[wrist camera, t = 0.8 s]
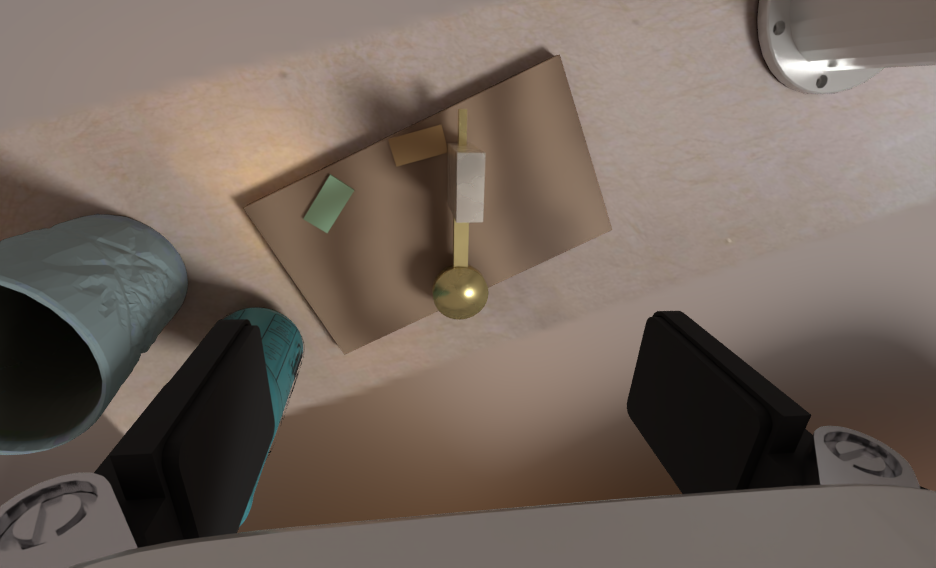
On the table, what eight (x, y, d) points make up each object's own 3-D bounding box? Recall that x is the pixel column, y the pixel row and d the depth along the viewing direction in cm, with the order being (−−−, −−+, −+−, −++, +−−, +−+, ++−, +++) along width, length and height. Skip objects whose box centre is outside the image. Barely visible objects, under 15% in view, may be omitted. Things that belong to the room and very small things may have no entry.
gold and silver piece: (482, 307, 34) (496, 340, 30) (431, 309, 34) (437, 344, 29) (490, 108, 29) (508, 111, 24) (428, 107, 28) (435, 110, 23)
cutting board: (554, 55, 29) (564, 53, 27) (606, 226, 35) (618, 233, 33) (247, 204, 30) (238, 212, 28) (345, 347, 35) (343, 361, 34)
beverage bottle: (209, 300, 32) (-31, 566, 14) (302, 290, 33) (187, 531, 15) (233, 373, 35) (56, 677, 17) (319, 363, 36) (238, 642, 18)
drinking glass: (2, 230, 28) (-242, 315, 18) (150, 179, 29) (-2, 232, 18) (103, 353, 33) (-43, 484, 22) (232, 309, 33) (150, 416, 22)
